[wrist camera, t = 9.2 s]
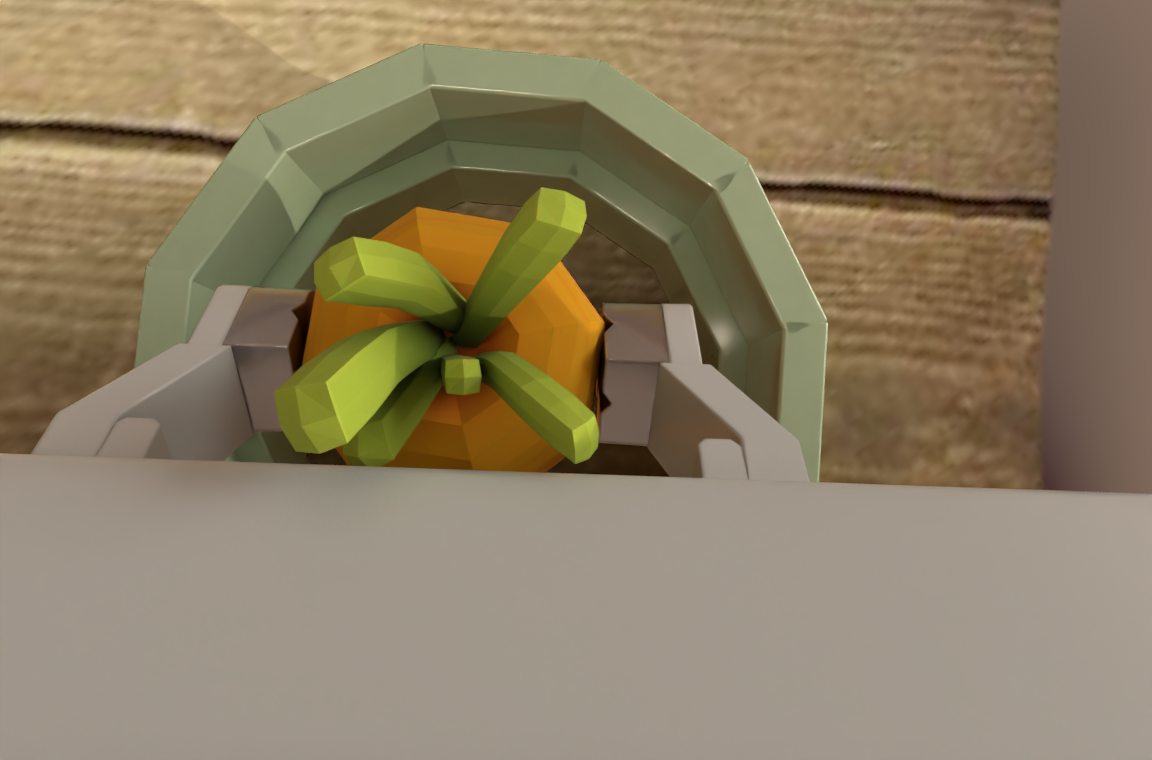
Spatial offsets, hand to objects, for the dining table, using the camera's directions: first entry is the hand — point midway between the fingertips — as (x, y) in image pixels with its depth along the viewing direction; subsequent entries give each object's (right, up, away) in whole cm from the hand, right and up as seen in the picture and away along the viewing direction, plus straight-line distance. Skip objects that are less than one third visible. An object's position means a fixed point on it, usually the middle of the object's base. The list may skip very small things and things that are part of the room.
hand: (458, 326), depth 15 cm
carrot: (0, -1, +9) cm, 9 cm away
